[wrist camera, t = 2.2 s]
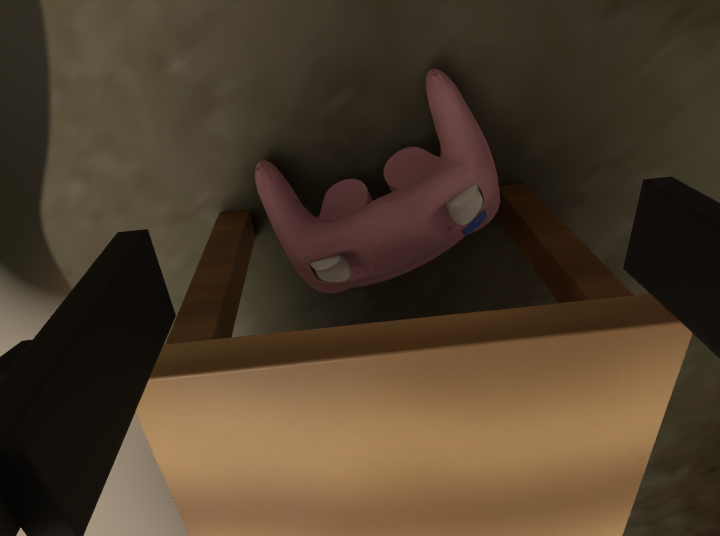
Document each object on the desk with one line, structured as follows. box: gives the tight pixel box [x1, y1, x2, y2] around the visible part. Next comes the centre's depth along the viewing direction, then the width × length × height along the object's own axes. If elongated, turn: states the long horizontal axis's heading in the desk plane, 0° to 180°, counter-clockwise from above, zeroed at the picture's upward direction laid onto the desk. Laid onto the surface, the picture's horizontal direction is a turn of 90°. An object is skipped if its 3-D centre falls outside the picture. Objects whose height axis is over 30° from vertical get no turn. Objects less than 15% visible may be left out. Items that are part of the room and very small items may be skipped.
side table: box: [135, 184, 692, 536], centre depth 22 cm, size 14×16×12 cm
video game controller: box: [255, 69, 500, 293], centre depth 21 cm, size 10×5×7 cm, turn 117°
